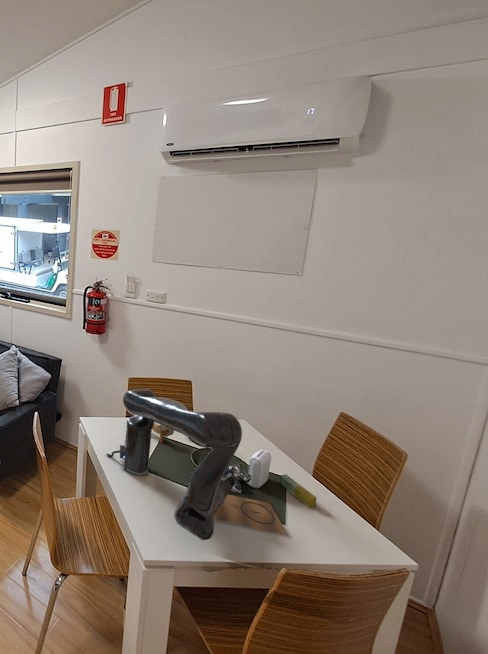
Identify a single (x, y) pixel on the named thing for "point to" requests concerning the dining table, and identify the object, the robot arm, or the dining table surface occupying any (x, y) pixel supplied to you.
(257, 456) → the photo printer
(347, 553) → the dining table surface
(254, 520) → the face circle
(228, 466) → the marker
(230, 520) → the sketch board
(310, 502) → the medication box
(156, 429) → the lion figurine
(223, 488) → the robot arm
